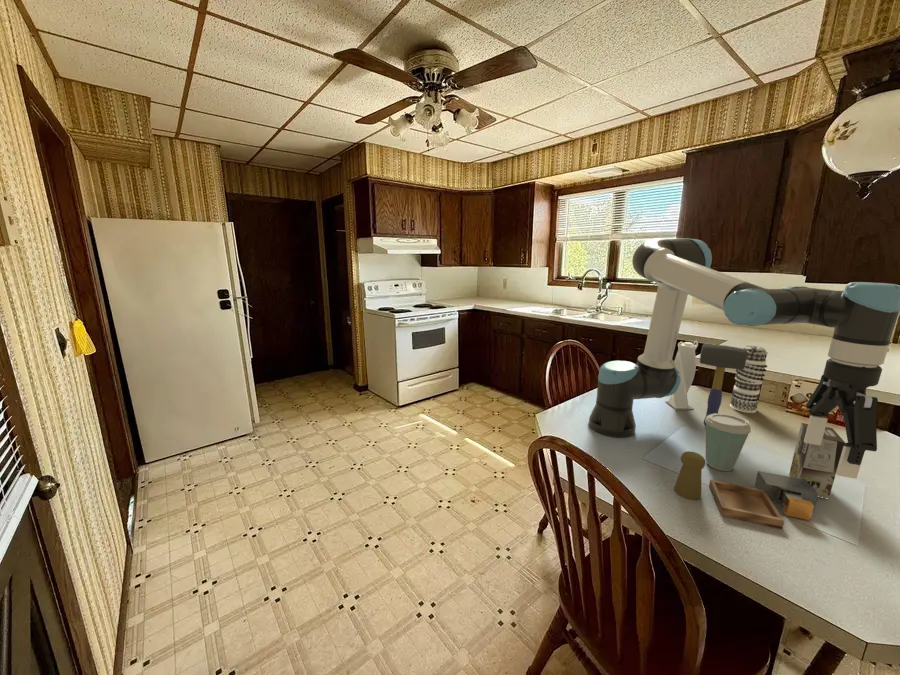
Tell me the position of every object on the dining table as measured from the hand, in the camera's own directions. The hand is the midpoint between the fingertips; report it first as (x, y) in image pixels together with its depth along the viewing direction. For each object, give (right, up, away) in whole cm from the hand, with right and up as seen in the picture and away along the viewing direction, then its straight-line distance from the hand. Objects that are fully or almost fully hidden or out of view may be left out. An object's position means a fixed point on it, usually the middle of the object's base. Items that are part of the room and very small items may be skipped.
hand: (827, 458), depth 77 cm
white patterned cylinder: (+36, -3, +68) cm, 77 cm away
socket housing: (+5, -15, +16) cm, 23 cm away
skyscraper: (+12, -2, +69) cm, 70 cm away
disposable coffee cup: (-1, -12, +30) cm, 32 cm away
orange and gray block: (+4, -15, +14) cm, 21 cm away
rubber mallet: (+12, -6, +52) cm, 54 cm away
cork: (-18, -15, +18) cm, 30 cm away
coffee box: (+15, -14, +20) cm, 29 cm away
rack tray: (-8, -16, +13) cm, 22 cm away
